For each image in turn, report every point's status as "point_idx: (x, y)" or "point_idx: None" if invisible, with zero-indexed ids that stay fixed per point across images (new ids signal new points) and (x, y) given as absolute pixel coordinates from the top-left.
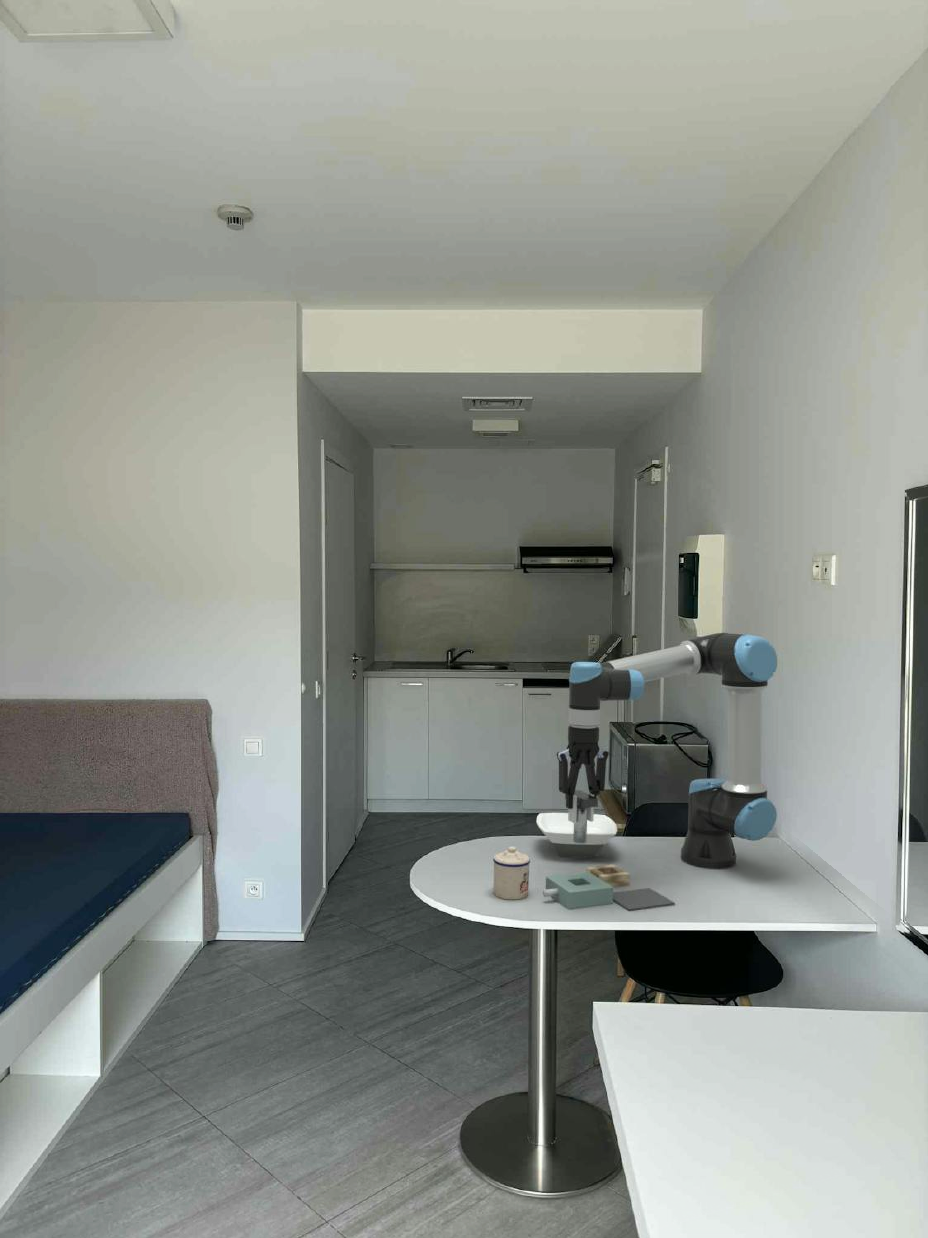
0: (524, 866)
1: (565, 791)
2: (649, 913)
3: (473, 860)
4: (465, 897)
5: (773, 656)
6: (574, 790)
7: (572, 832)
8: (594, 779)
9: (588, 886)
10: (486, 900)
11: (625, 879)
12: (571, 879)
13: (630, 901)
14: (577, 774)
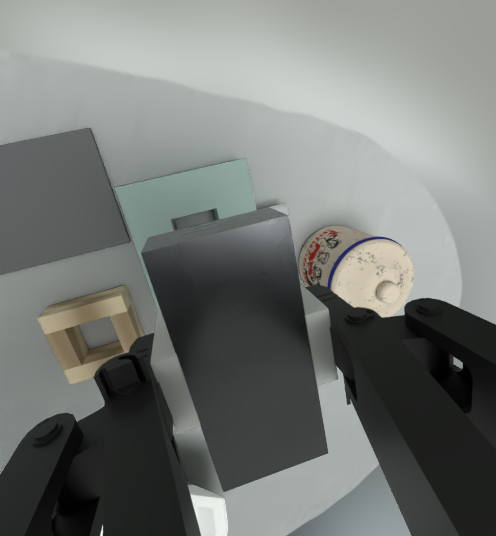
0: (349, 246)
1: (435, 303)
2: (33, 105)
3: (342, 430)
4: (412, 246)
5: None
6: (352, 336)
7: None
8: (131, 503)
9: (184, 199)
10: (383, 228)
11: (54, 309)
12: None
13: (72, 182)
14: (451, 483)
